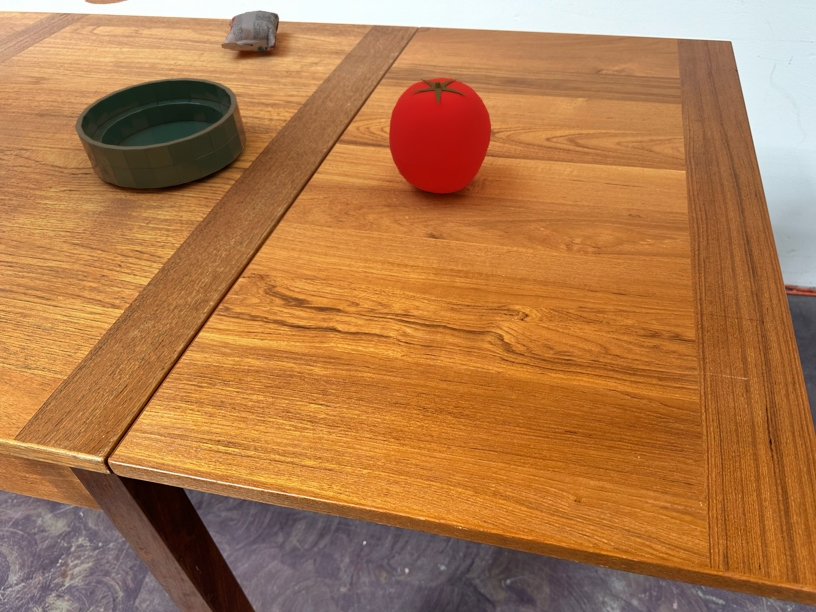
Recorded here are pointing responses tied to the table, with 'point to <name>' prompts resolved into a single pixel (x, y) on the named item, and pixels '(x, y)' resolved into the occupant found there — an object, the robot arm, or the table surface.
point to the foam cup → (104, 1)
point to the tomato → (439, 135)
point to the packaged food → (252, 31)
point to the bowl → (162, 132)
